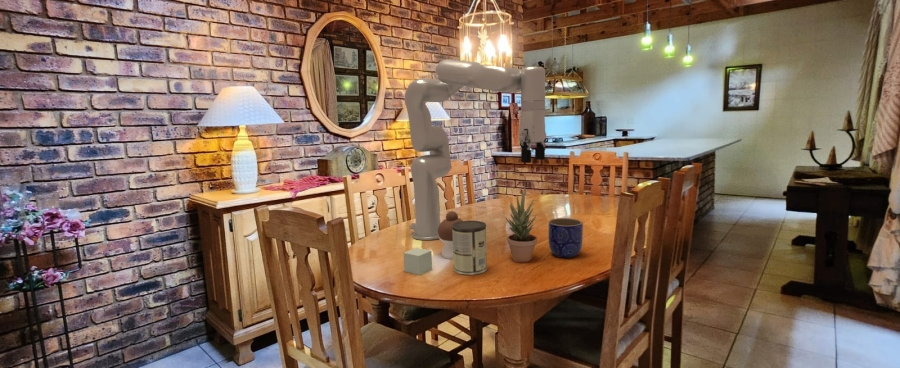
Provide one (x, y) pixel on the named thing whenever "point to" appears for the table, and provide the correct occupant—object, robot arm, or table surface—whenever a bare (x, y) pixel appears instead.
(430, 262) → the sage block
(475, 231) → the coffee can
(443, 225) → the figurine
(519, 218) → the potted plant
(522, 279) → the table surface
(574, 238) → the planter
